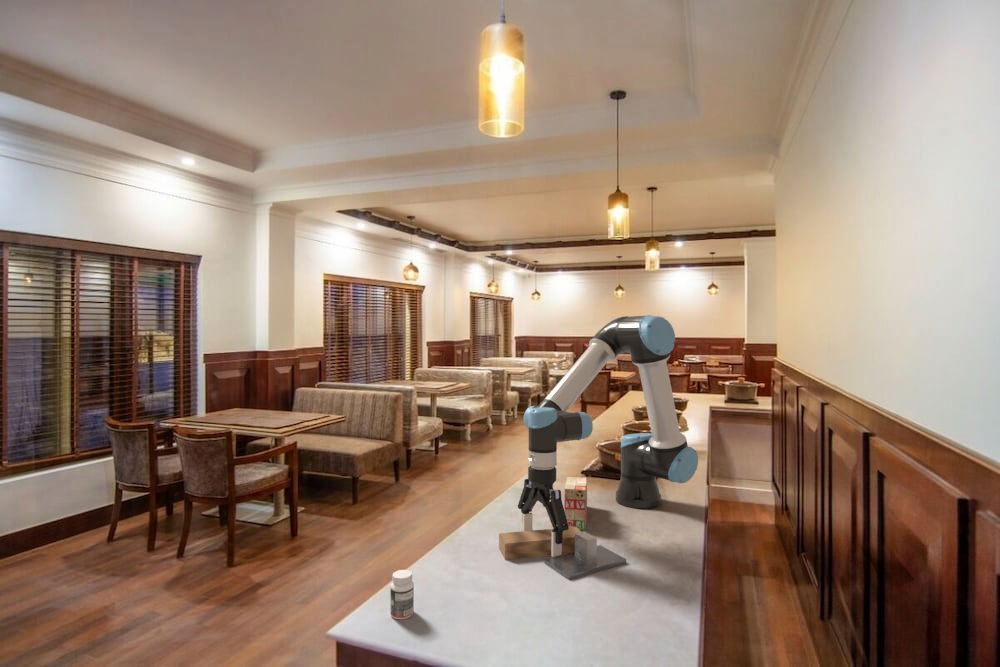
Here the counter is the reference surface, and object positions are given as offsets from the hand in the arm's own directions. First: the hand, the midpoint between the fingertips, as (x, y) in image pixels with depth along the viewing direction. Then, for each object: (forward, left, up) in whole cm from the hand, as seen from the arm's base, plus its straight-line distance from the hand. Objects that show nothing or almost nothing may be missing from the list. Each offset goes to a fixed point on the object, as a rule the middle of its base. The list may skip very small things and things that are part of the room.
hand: (541, 546), depth 141 cm
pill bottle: (+43, +12, -1) cm, 44 cm away
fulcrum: (-5, +12, -1) cm, 13 cm away
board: (0, 0, -2) cm, 2 cm away
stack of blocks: (-24, -16, -2) cm, 28 cm away
